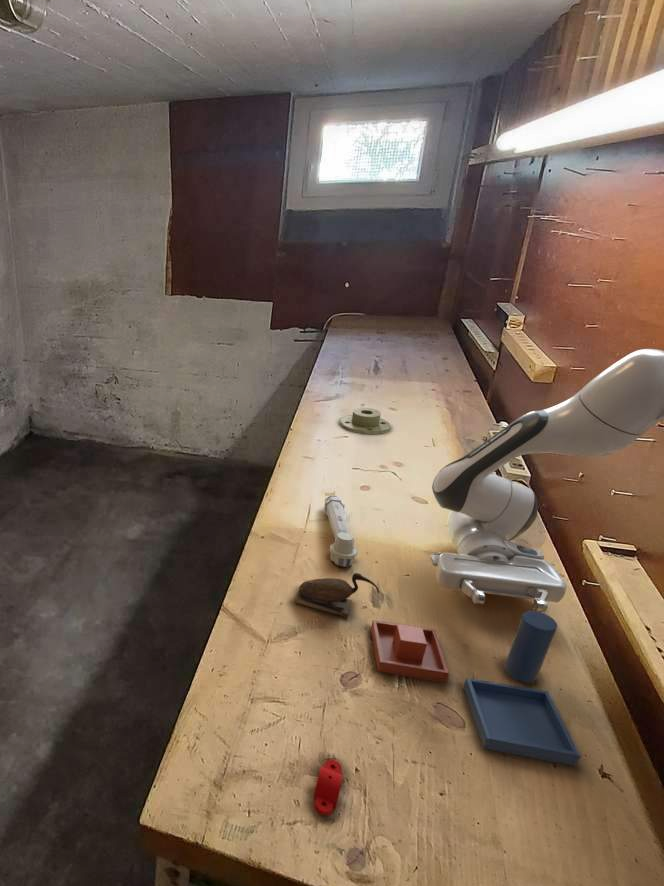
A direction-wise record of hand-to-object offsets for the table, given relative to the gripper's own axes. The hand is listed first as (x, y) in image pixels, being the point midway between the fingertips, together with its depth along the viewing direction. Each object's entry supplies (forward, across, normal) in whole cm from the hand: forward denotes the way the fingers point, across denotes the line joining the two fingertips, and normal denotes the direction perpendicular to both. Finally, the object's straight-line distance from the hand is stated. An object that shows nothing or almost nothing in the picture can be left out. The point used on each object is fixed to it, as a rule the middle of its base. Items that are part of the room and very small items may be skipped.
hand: (510, 604), depth 97 cm
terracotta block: (+10, -17, +5) cm, 21 cm away
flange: (-96, -13, +6) cm, 97 cm away
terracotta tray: (+10, -17, +6) cm, 21 cm away
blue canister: (+10, 0, +6) cm, 12 cm away
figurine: (0, -28, +6) cm, 29 cm away
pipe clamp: (+38, -31, +6) cm, 49 cm away
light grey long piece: (-25, -26, +6) cm, 37 cm away
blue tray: (+21, -4, +6) cm, 22 cm away
